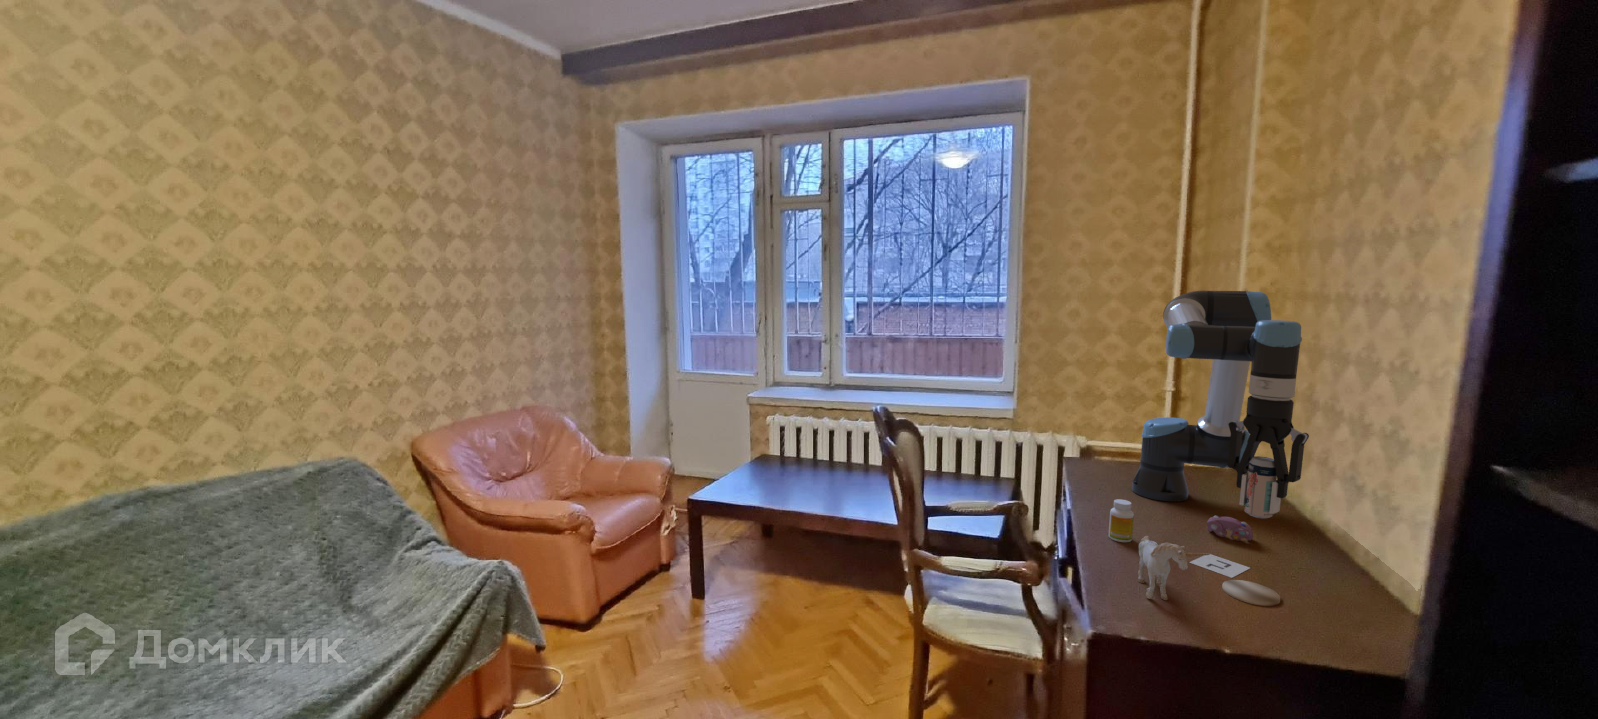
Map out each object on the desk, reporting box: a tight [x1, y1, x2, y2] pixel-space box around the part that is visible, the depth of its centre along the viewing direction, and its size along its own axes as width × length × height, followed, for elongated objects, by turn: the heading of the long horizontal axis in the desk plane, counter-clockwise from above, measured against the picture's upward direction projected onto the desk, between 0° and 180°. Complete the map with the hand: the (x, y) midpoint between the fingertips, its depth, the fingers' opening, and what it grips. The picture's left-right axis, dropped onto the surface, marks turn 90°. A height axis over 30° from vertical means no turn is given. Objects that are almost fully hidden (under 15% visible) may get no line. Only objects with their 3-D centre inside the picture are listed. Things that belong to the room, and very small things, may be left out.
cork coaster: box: [1221, 579, 1281, 607], centre depth 135 cm, size 10×10×1 cm
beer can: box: [1244, 455, 1277, 519], centre depth 132 cm, size 5×5×12 cm
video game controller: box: [1206, 515, 1254, 542], centre depth 163 cm, size 10×5×7 cm, turn 48°
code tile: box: [1189, 553, 1251, 579], centre depth 148 cm, size 9×9×1 cm
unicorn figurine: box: [1137, 535, 1211, 601], centre depth 133 cm, size 7×20×13 cm, turn 2°
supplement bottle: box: [1108, 498, 1135, 543], centre depth 162 cm, size 5×5×10 cm
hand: (1259, 507), depth 132 cm, fingers closed on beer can, 5 cm apart
